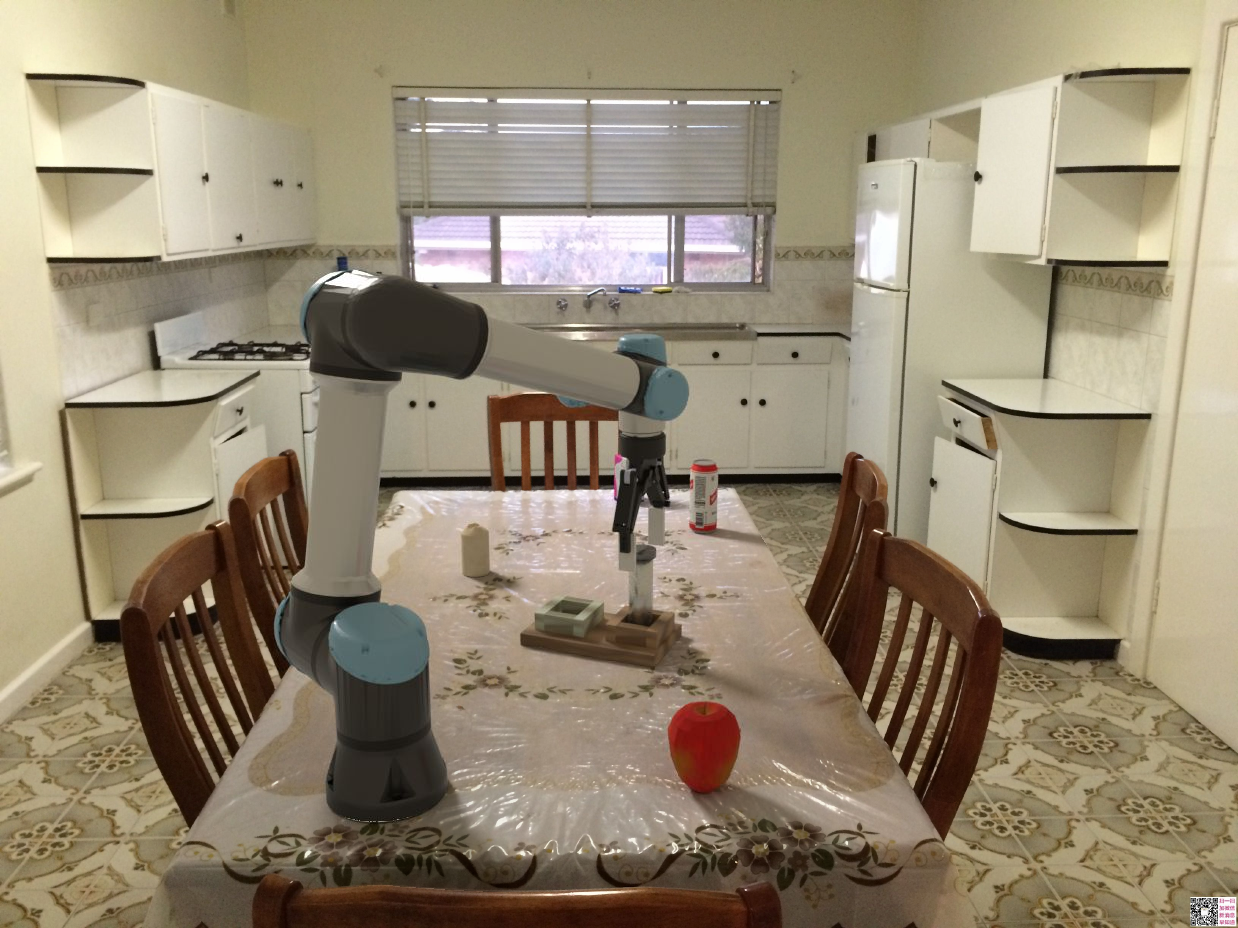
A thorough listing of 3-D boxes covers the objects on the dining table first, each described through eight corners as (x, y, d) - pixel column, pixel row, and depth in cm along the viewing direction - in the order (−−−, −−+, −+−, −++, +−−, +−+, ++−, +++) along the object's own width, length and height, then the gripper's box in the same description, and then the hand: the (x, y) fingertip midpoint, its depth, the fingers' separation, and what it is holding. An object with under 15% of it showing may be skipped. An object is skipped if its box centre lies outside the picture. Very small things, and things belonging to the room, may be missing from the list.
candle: (492, 575, 212) (491, 527, 209) (465, 578, 210) (464, 530, 207) (485, 566, 217) (484, 519, 214) (459, 569, 215) (457, 522, 212)
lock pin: (649, 642, 175) (650, 555, 171) (621, 638, 177) (621, 551, 173) (659, 631, 180) (660, 546, 176) (631, 627, 181) (632, 542, 178)
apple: (735, 767, 141) (738, 684, 138) (742, 805, 132) (745, 717, 129) (665, 767, 141) (667, 683, 138) (667, 804, 132) (669, 716, 129)
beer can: (686, 532, 239) (687, 464, 235) (692, 524, 245) (693, 457, 241) (713, 535, 237) (715, 466, 233) (719, 527, 243) (721, 459, 239)
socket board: (653, 667, 171) (654, 638, 169) (520, 644, 179) (519, 616, 178) (681, 635, 183) (682, 608, 182) (555, 614, 192) (555, 588, 191)
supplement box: (645, 501, 264) (645, 456, 261) (624, 504, 261) (625, 459, 258) (633, 495, 268) (633, 451, 266) (613, 499, 266) (613, 454, 263)
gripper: (636, 451, 157) (636, 585, 163) (689, 417, 180) (687, 537, 185) (590, 447, 160) (591, 579, 165) (647, 414, 182) (647, 532, 188)
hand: (642, 557), depth 175 cm, fingers open, 13 cm apart
